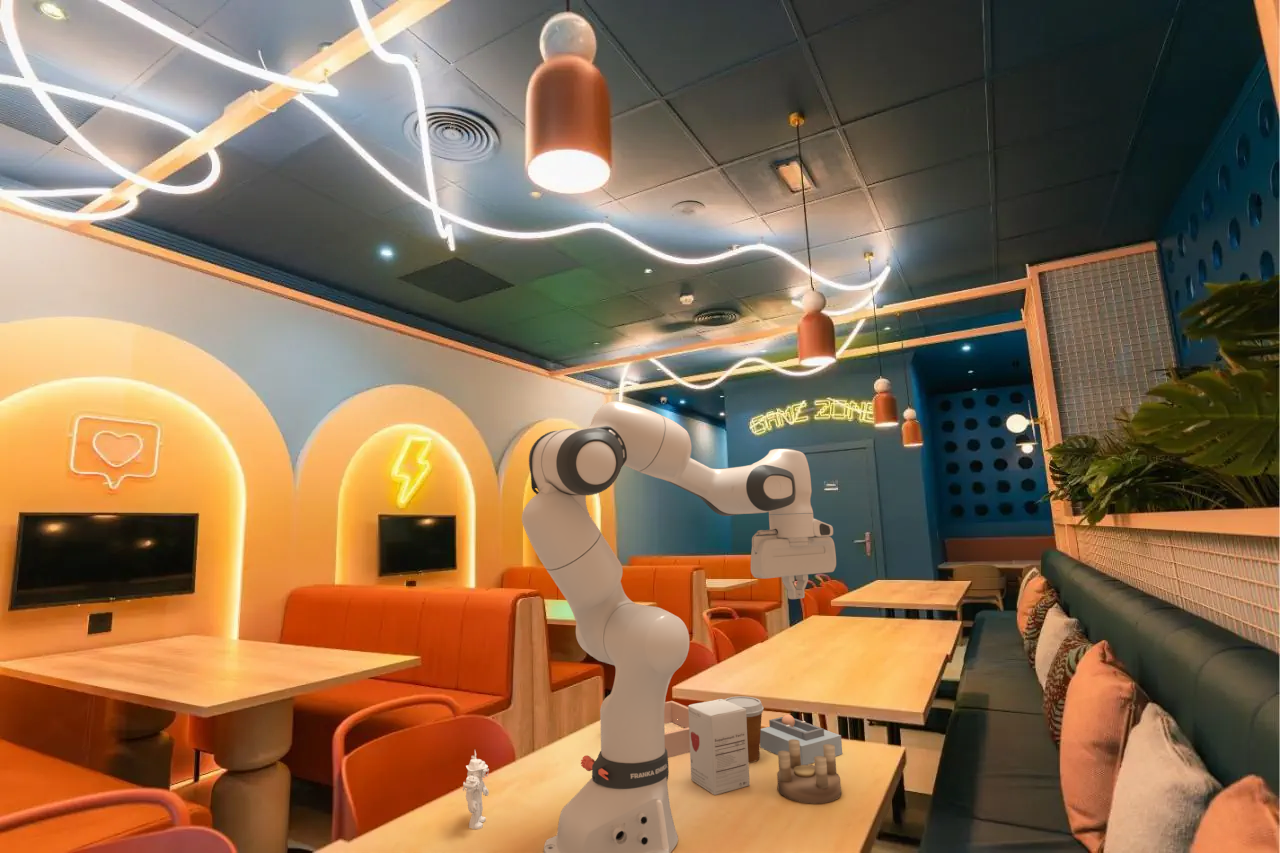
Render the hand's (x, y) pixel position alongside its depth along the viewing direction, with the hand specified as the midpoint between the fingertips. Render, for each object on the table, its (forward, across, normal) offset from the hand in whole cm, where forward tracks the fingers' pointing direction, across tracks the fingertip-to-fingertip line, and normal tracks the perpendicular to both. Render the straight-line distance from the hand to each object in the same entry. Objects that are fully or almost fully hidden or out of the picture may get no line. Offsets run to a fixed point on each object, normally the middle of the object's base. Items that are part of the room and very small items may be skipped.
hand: (796, 598), depth 128 cm
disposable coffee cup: (+37, +3, +23) cm, 44 cm away
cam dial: (+37, +2, +2) cm, 37 cm away
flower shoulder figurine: (+37, -57, +26) cm, 73 cm away
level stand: (+37, +16, +19) cm, 45 cm away
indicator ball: (+32, +16, +22) cm, 42 cm away
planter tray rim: (+37, -6, +44) cm, 58 cm away
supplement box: (+37, -10, +15) cm, 41 cm away
